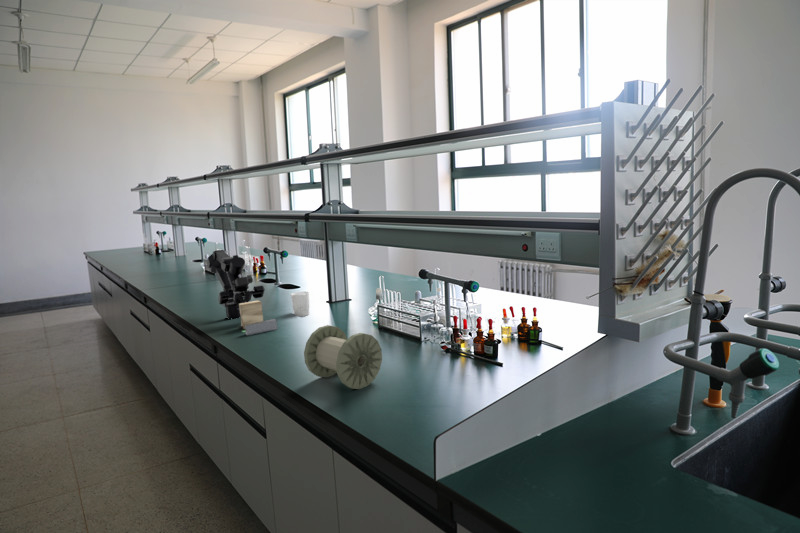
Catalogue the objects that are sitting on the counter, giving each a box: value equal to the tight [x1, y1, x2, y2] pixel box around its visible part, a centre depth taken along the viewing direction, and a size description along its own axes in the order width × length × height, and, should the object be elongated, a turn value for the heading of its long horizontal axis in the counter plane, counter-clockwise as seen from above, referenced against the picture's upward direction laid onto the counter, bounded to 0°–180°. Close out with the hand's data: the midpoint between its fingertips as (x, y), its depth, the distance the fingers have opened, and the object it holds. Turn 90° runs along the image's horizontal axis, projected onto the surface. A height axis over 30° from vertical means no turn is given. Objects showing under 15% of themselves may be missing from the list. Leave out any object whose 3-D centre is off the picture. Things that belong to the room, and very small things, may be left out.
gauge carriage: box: [237, 300, 264, 330], centre depth 213 cm, size 4×10×10 cm, turn 123°
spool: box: [303, 324, 383, 390], centre depth 148 cm, size 16×15×15 cm
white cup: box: [290, 291, 310, 318], centre depth 234 cm, size 8×8×10 cm
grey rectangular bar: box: [244, 318, 278, 336], centre depth 205 cm, size 2×12×4 cm, turn 123°
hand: (247, 310), depth 218 cm, fingers closed
